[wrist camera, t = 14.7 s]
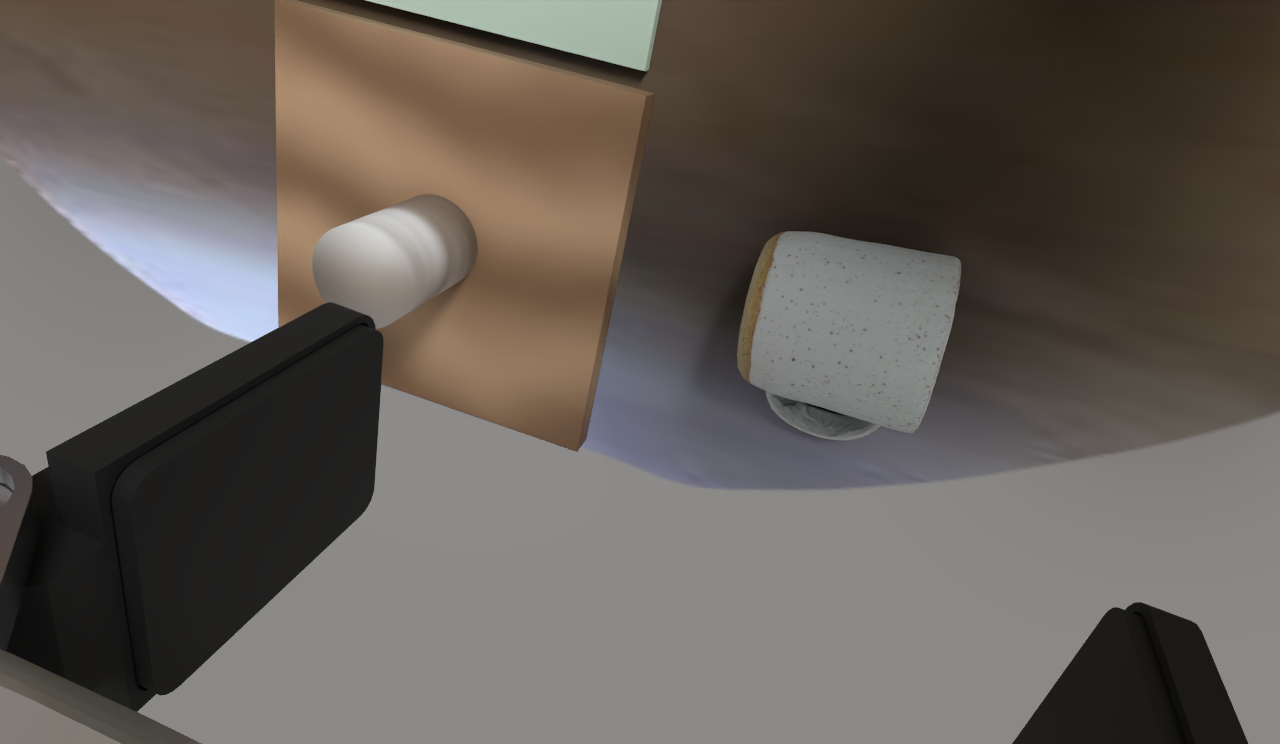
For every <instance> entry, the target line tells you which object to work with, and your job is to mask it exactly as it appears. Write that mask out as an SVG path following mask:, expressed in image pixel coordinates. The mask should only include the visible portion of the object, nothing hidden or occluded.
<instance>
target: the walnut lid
mask: <svg viewBox="0 0 1280 744" xmlns="http://www.w3.org/2000/svg"><path fill="white" fill-rule="evenodd" d="M275 72H276V153H277V235H278V317H279V327H281V326H283V325H285V324H287V323H288V322H290V321H292V320H294V319H296V318H298V317H300V316H302V315H303V314H305V313H307V312H309V311H311V310H313V309H315V308H317V307H318V306H320V305H322V304H325V303H328V302H331V303H336V304H338V305H341V306H344V307H347V308H349V309H352V310H355V311H357V312H360V313H363V314H365V315H368V316H370V317H371V318H372V319H373V320H374V323H375V327H376V330H377V331H379V332H380V333H382V336H383V341H384V346H383V361H382V376H381V384H383V385H386V386H389V387H392V388H395V389H398V390H401V391H403V392H406V393H409V394H412V395H415V396H418V397H421V398H424V399H426V400H429V401H432V402H435V403H438V404H441V405H444V406H447V407H450V408H452V409H455V410H458V411H461V412H464V413H467V414H470V415H473V416H475V417H478V418H481V419H484V420H487V421H490V422H493V423H496V424H499V425H501V426H504V427H507V428H510V429H513V430H516V431H519V432H522V433H525V434H527V435H530V436H533V437H536V438H539V439H542V440H545V441H548V442H551V443H553V444H556V445H559V446H562V447H565V448H568V449H571V450H573V451H576V452H577V451H578V450H579V448H580V447H581V446H582V444H583V443H584V442H585V440H586V437H587V432H588V427H589V422H590V417H591V412H592V407H593V402H594V397H595V392H596V387H597V382H598V377H599V372H600V367H601V362H602V357H603V352H604V347H605V342H606V337H607V332H608V327H609V322H610V317H611V312H612V307H613V302H614V297H615V292H616V286H617V281H618V276H619V271H620V266H621V261H622V256H623V251H624V246H625V241H626V236H627V231H628V226H629V221H630V216H631V211H632V206H633V201H634V196H635V191H636V186H637V181H638V176H639V171H640V166H641V161H642V156H643V151H644V146H645V141H646V136H647V131H648V126H649V121H650V116H651V111H652V106H653V101H654V96H655V93H652V92H648V91H644V90H641V89H637V88H633V87H629V86H625V85H621V84H617V83H614V82H610V81H606V80H602V79H598V78H594V77H590V76H586V75H583V74H579V73H575V72H571V71H567V70H563V69H559V68H555V67H552V66H548V65H544V64H540V63H536V62H532V61H528V60H525V59H521V58H517V57H513V56H509V55H505V54H501V53H497V52H494V51H490V50H486V49H482V48H478V47H474V46H470V45H467V44H463V43H459V42H455V41H451V40H447V39H443V38H439V37H436V36H432V35H428V34H424V33H420V32H416V31H412V30H409V29H405V28H401V27H397V26H393V25H389V24H385V23H381V22H378V21H374V20H370V19H366V18H362V17H358V16H354V15H351V14H347V13H343V12H339V11H335V10H331V9H327V8H323V7H320V6H316V5H312V4H308V3H304V2H300V1H296V0H275Z"/></svg>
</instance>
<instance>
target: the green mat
mask: <svg viewBox="0 0 1280 744" xmlns="http://www.w3.org/2000/svg"><path fill="white" fill-rule="evenodd" d="M366 1H370V2H374V3H378V4H382V5H386V6H390V7H394V8H398V9H402V10H406V11H409V12H413V13H417V14H421V15H425V16H429V17H433V18H437V19H441V20H445V21H449V22H453V23H457V24H461V25H465V26H468V27H472V28H476V29H480V30H484V31H488V32H492V33H496V34H500V35H504V36H508V37H512V38H516V39H520V40H524V41H527V42H531V43H535V44H539V45H543V46H547V47H551V48H555V49H559V50H563V51H567V52H571V53H575V54H579V55H583V56H586V57H590V58H594V59H598V60H602V61H606V62H610V63H614V64H618V65H622V66H626V67H630V68H634V69H638V70H642V71H648V70H649V65H650V60H651V55H652V49H653V44H654V39H655V34H656V29H657V23H658V18H659V13H660V8H661V3H662V0H366Z"/></svg>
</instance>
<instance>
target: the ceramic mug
mask: <svg viewBox="0 0 1280 744" xmlns="http://www.w3.org/2000/svg"><path fill="white" fill-rule="evenodd" d="M960 277H961V262H960V260H959V259H958V258H957V257H954V256H948V255H942V254H936V253H929V252H923V251H918V250H913V249H907V248H902V247H897V246H891V245H886V244H880V243H873V242H865V241H859V240H853V239H848V238H843V237H838V236H833V235H829V234H824V233H817V232H802V231H787V232H781V233H778V234H777V235H775V236H773V237H772V238H771V239H769V240H768V242H767V243H766V244H765V246H764V248H763V250H762V252H761V254H760V257H759V259H758V262H757V264H756V267H755V270H754V273H753V277H752V280H751V283H750V287H749V290H748V294H747V298H746V302H745V307H744V312H743V317H742V321H741V325H740V332H739V339H738V349H737V367H738V369H739V371H740V373H741V375H742V377H743V378H744V379H745V380H746V381H747V382H749V383H751V384H753V385H754V386H756V387H758V388H761V389H763V390H765V391H766V397H767V399H768V402H769V405H770V407H771V408H772V410H773V411H774V412H775V413H776V414H777V415H778V416H779V417H780V418H781V419H783V420H784V421H785V422H786V423H788V424H789V425H791V426H793V427H795V428H797V429H799V430H801V431H803V432H805V433H808V434H811V435H814V436H817V437H820V438H825V439H831V440H854V439H858V438H862V437H864V436H867V435H869V434H871V433H873V432H874V431H876V430H877V429H878V428H880V427H881V426H884V427H887V428H890V429H894V430H897V431H900V432H904V433H914V432H915V431H916V429H917V428H918V427H919V425H920V423H921V421H922V418H923V416H924V414H925V412H926V409H927V406H928V404H929V402H930V397H931V395H932V391H933V388H934V385H935V383H936V377H937V375H938V373H939V368H940V365H941V361H942V358H943V354H944V351H945V348H946V345H947V341H948V338H949V334H950V331H951V327H952V323H953V318H954V313H955V304H956V301H957V297H958V293H959V286H960ZM806 403H808V404H812V405H815V406H819V407H822V408H826V409H829V410H832V411H835V412H838V413H841V414H844V415H839V414H834V413H831V412H827V411H824V410H822V409H819V408H816V407H813V406H809V405H807V404H806Z"/></svg>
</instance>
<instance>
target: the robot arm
mask: <svg viewBox="0 0 1280 744" xmlns="http://www.w3.org/2000/svg"><path fill="white" fill-rule="evenodd" d="M383 346H384V341H383V336H382V333H380V332H379V331H377V330H376V327H375V323H374V320H373V319H372V318H371V317H370V316H368V315H365V314H363V313H360V312H357V311H355V310H352V309H349V308H347V307H344V306H341V305H338V304H336V303H331V302H328V303H325V304H322V305H320V306H318V307H317V308H315V309H313V310H311V311H309V312H307V313H305V314H303V315H302V316H300V317H298V318H296V319H294V320H292V321H290V322H288V323H287V324H285V325H283V326H281V327H279V328H277V329H275V330H273V331H272V332H270V333H268V334H266V335H264V336H262V337H260V338H258V339H257V340H255V341H253V342H251V343H249V344H247V345H246V346H244V347H242V348H240V349H238V350H236V351H234V352H233V353H230V354H229V355H227V356H225V357H223V358H221V359H219V360H217V361H215V362H214V363H212V364H210V365H208V366H206V367H204V368H202V369H201V370H198V371H197V372H195V373H193V374H191V375H189V376H187V377H185V378H183V379H182V380H180V381H178V382H176V383H174V384H172V385H170V386H169V387H167V388H165V389H163V390H161V391H160V392H157V393H155V394H154V395H152V396H150V397H148V398H146V399H144V400H142V401H140V402H139V403H137V404H135V405H133V406H131V407H129V408H127V409H125V410H124V411H122V412H120V413H118V414H116V415H114V416H112V417H110V418H109V419H107V420H105V421H103V422H101V423H99V424H97V425H95V426H94V427H92V428H90V429H88V430H86V431H84V432H82V433H80V434H79V435H77V436H75V437H73V438H71V439H69V440H67V441H65V442H64V443H62V444H60V445H58V446H56V447H54V448H52V449H50V450H49V451H47V452H46V454H47V460H48V465H49V467H47V468H45V469H44V470H42V471H40V472H38V473H36V474H35V475H33V476H31V474H30V473H29V471H28V470H27V468H26V467H25V466H24V465H23V464H21V463H19V462H17V461H16V460H14V459H12V458H10V457H7V456H3V455H0V744H201V743H199V742H197V741H195V740H193V739H191V738H189V737H187V736H185V735H183V734H181V733H179V732H177V731H175V730H173V729H171V728H168V727H167V726H164V725H162V724H160V723H158V722H156V721H154V720H152V719H150V718H148V717H146V716H144V715H142V714H140V713H138V712H137V711H138V710H139V709H140V708H142V707H143V705H145V704H146V703H147V702H148V701H149V700H150V699H151V698H152V697H154V696H155V695H156V694H159V695H166V694H168V693H170V692H172V691H174V690H175V689H176V688H177V687H179V686H180V685H181V684H182V683H183V682H184V681H185V680H186V679H187V678H188V677H190V675H192V674H193V673H194V672H195V671H196V670H197V669H198V668H199V667H200V666H201V665H202V664H203V663H204V662H205V661H207V660H208V659H209V658H210V657H211V656H212V655H213V654H214V653H215V652H216V651H217V650H218V649H219V648H220V647H221V646H222V645H224V644H225V643H226V642H227V641H228V640H229V639H230V638H231V637H232V636H233V635H234V634H235V633H236V632H237V631H238V630H239V629H241V628H242V627H243V625H245V624H246V623H247V622H248V621H249V620H250V619H251V618H252V617H253V616H254V615H255V614H256V613H257V612H259V611H260V610H261V609H262V608H263V607H264V606H265V605H266V604H267V603H268V602H269V601H270V600H271V599H273V598H274V597H275V596H276V595H277V594H278V593H279V592H280V591H281V590H282V589H283V588H284V587H285V586H286V585H287V584H288V583H289V582H291V581H292V580H293V579H294V578H295V577H296V576H297V575H298V574H299V573H300V572H301V571H302V570H303V569H304V568H305V567H307V565H309V564H310V563H311V562H312V561H313V560H314V559H315V558H316V557H317V556H318V555H319V554H320V553H321V552H322V551H323V550H325V549H326V548H327V547H328V546H329V545H330V544H331V543H332V542H333V541H334V540H335V539H336V538H337V537H338V536H340V534H342V533H343V532H344V531H345V530H346V529H347V528H348V527H349V526H350V525H351V524H352V523H353V522H354V521H355V520H356V519H358V518H359V517H360V516H361V515H362V514H363V512H364V511H365V510H366V508H367V507H368V505H369V503H370V501H371V499H372V496H373V492H374V482H375V467H376V452H377V437H378V422H379V421H378V420H379V407H380V391H381V376H382V361H383ZM1012 744H1248V742H1247V740H1246V737H1245V735H1244V732H1243V730H1242V728H1241V725H1240V723H1239V720H1238V718H1237V715H1236V713H1235V711H1234V708H1233V706H1232V703H1231V701H1230V699H1229V696H1228V694H1227V691H1226V689H1225V687H1224V684H1223V682H1222V680H1221V677H1220V675H1219V672H1218V670H1217V668H1216V666H1215V663H1214V660H1213V658H1212V655H1211V653H1210V651H1209V648H1208V646H1207V643H1206V641H1205V639H1204V636H1203V634H1202V631H1201V630H1200V628H1199V627H1198V626H1197V624H1195V623H1193V622H1192V621H1190V620H1187V619H1184V618H1181V617H1179V616H1176V615H1174V614H1171V613H1168V612H1165V611H1163V610H1160V609H1157V608H1154V607H1152V606H1149V605H1147V604H1144V603H1141V602H1140V603H1133V604H1132V605H1130V606H1128V607H1127V608H1126V610H1123V609H1120V608H1112V609H1111V610H1109V611H1108V612H1107V613H1106V614H1105V615H1104V616H1103V618H1102V619H1101V621H1100V622H1099V623H1098V625H1097V626H1096V628H1095V629H1094V630H1093V632H1092V633H1091V635H1090V636H1089V637H1088V639H1087V640H1086V642H1085V643H1084V644H1083V646H1082V647H1081V649H1080V650H1079V651H1078V653H1077V654H1076V656H1075V657H1074V658H1073V660H1072V661H1071V663H1070V664H1069V665H1068V667H1067V668H1066V669H1065V671H1064V672H1063V674H1062V675H1061V676H1060V678H1059V679H1058V681H1057V682H1056V683H1055V685H1054V686H1053V688H1052V689H1051V690H1050V692H1049V693H1048V695H1047V696H1046V698H1045V699H1044V700H1043V702H1042V703H1041V704H1040V706H1039V708H1038V709H1037V710H1036V711H1035V713H1034V714H1033V716H1032V717H1031V718H1030V720H1029V721H1028V723H1027V724H1026V725H1025V727H1024V728H1023V730H1022V731H1021V732H1020V734H1019V735H1018V737H1017V738H1016V739H1015V741H1014V742H1013V743H1012Z"/></svg>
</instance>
